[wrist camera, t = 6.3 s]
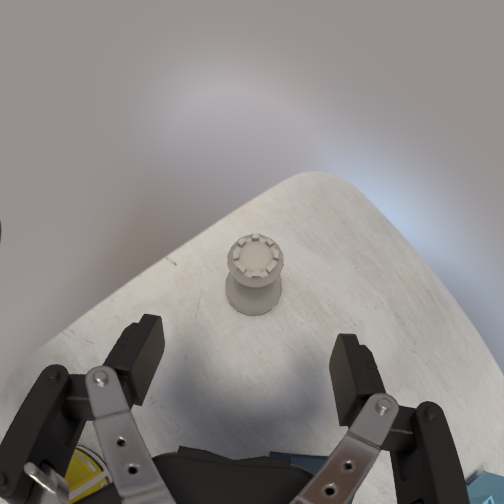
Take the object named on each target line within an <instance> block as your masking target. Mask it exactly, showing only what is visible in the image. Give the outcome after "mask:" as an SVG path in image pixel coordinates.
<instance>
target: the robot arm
mask: <svg viewBox="0 0 504 504" xmlns="http://www.w3.org/2000/svg"><path fill="white" fill-rule="evenodd" d="M164 348H165V340H164V333H163V325H162V318H161V316H156V315H150V314H144V315H143V316H142V318H141V320H140V321H139V323H132V324H131V325H129V326H128V327H126V328H125V329H124V331H123V332H122V334H121V336H120V338H119V339H118V340H117V343H116V344H115V345H114V347H113V349H112V350H111V352H110V353H109V355H108V357H107V358H106V360H105V362H104V363H103V365H102V366H97V367H94V368H92V369H91V370H89V371H88V373H87V374H69V373H68V371H67V369H66V368H65V367H64V366H62V365H58V364H55V365H50V366H48V367H46V368H45V369H44V370H43V371H42V373H41V374H40V376H39V377H38V379H37V380H36V382H35V384H34V385H33V387H32V388H31V390H30V392H29V393H28V395H27V397H26V398H25V400H24V402H23V404H22V405H21V407H20V409H19V411H18V412H17V414H16V416H15V418H14V420H13V421H12V423H11V425H10V427H9V429H8V431H7V433H6V435H5V437H4V439H3V441H2V443H1V445H0V498H2V499H4V500H5V501H6V502H7V503H9V504H70V501H69V493H70V489H69V485H68V483H67V481H66V480H65V479H64V478H65V475H66V472H67V469H68V466H69V464H70V461H71V458H72V456H73V453H74V450H75V448H76V445H77V443H78V440H79V438H80V435H81V433H82V430H83V428H84V426H85V423H86V421H87V420H89V421H93V424H94V428H95V431H96V434H97V437H98V441H99V444H100V447H101V450H102V452H103V455H104V458H105V461H106V464H107V466H108V469H109V471H110V474H111V476H112V479H113V482H111V483H109V484H108V485H106V486H104V487H102V488H100V489H99V490H97V491H95V492H93V493H91V494H89V495H87V496H85V497H83V498H81V499H79V500H77V501H75V502H74V503H72V504H348V503H349V502H350V500H351V499H352V497H353V496H354V494H355V493H356V491H357V490H358V488H359V487H360V485H361V484H362V482H363V481H364V479H365V477H366V476H367V474H368V473H369V471H370V469H371V468H372V466H373V464H374V462H375V461H376V459H377V457H378V455H379V454H380V452H381V450H385V451H390V457H391V463H392V469H393V475H394V482H395V489H396V497H397V504H470V500H469V496H468V491H467V487H466V483H465V479H464V475H463V471H462V468H461V464H460V461H459V457H458V454H457V451H456V447H455V444H454V441H453V438H452V435H451V432H450V429H449V426H448V423H447V420H446V418H445V415H444V412H443V410H442V408H441V407H440V406H439V405H437V404H436V403H434V402H429V401H426V402H423V403H421V404H420V405H419V406H418V407H417V408H410V407H404V406H400V405H398V403H397V401H396V400H395V399H394V398H393V397H392V396H390V395H388V394H386V391H385V388H384V385H383V382H382V379H381V377H380V374H379V371H378V369H377V365H376V363H375V360H374V357H373V355H372V352H371V351H370V350H369V349H368V348H367V347H366V346H365V345H359V342H358V339H357V336H356V335H355V334H338V336H337V339H336V342H335V345H334V348H333V351H332V354H331V357H330V363H329V369H330V375H331V380H332V386H333V391H334V396H335V402H336V408H337V413H338V419H339V425H340V426H348V429H349V430H348V431H347V433H346V434H345V435H344V437H343V438H342V440H341V441H340V442H339V444H338V445H337V447H336V448H335V449H334V451H333V452H332V453H331V455H330V456H329V457H328V459H327V460H326V461H325V463H324V464H323V465H322V466H321V468H320V469H319V470H318V471H317V473H316V474H315V475H314V474H313V473H312V472H310V471H308V470H307V469H305V468H302V467H300V466H297V465H294V464H291V457H267V456H262V457H255V458H248V459H240V460H232V459H229V458H226V457H223V456H220V455H217V454H214V453H212V452H209V451H206V450H200V449H194V448H188V447H183V446H179V449H178V452H172V453H165V454H161V455H158V456H155V457H153V458H152V457H151V455H150V453H149V451H148V449H147V447H146V445H145V443H144V440H143V438H142V436H141V434H140V432H139V429H138V427H137V425H136V422H135V420H134V418H133V415H132V413H131V409H132V406H133V404H135V405H139V406H142V404H143V401H144V399H145V396H146V394H147V391H148V389H149V386H150V384H151V381H152V379H153V377H154V374H155V372H156V369H157V367H158V365H159V362H160V360H161V358H162V355H163V352H164Z"/></svg>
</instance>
